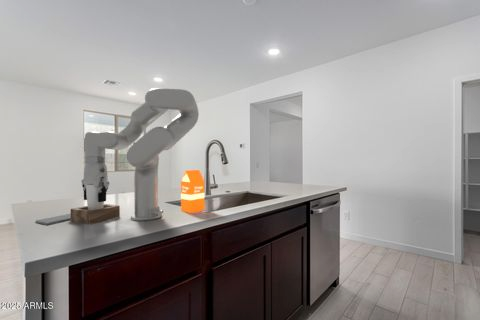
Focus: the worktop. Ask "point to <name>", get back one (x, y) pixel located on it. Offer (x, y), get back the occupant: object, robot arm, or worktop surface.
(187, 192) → the orange juice
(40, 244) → the worktop surface
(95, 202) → the drinking glass
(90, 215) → the walnut holder
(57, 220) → the charcoal tile coaster
